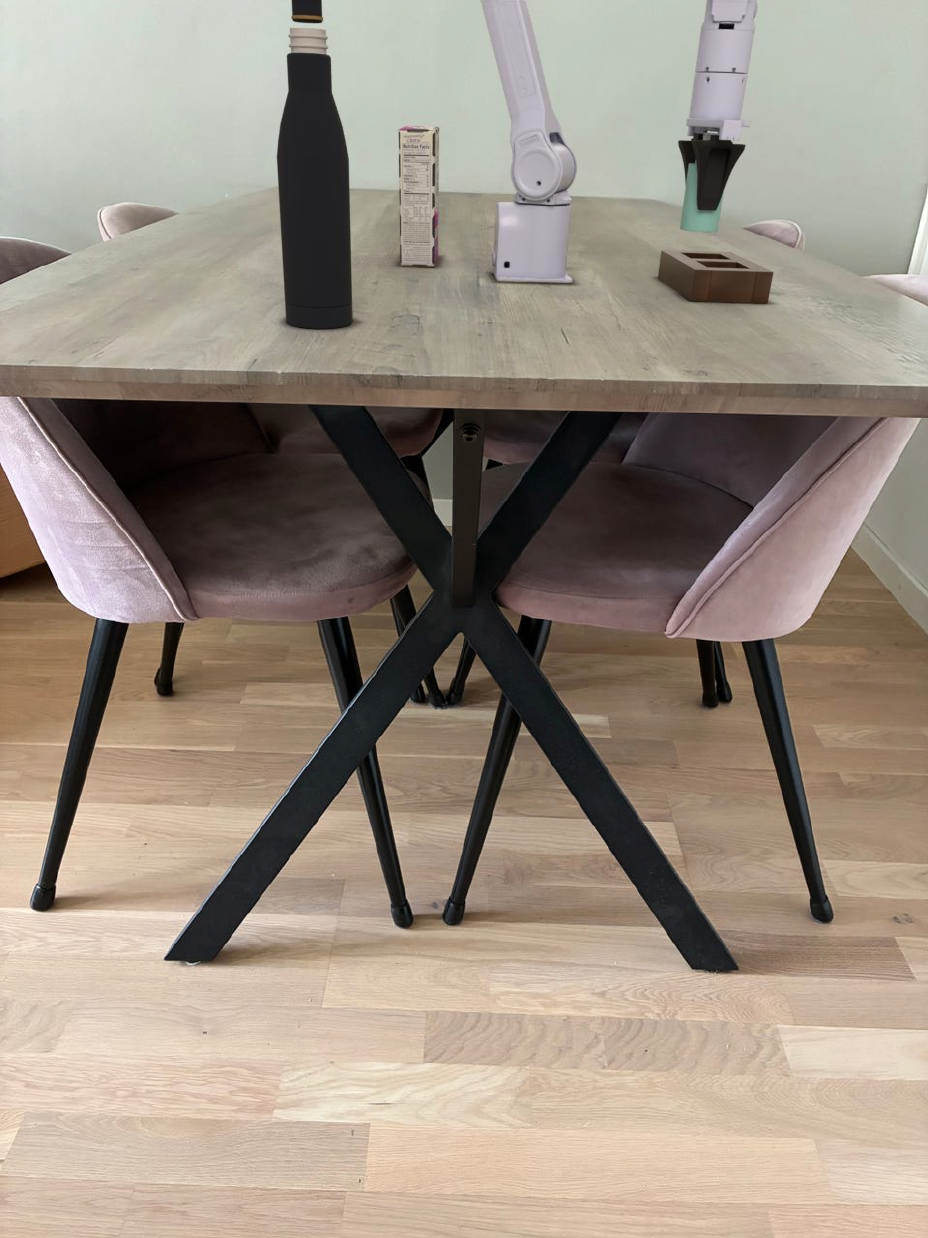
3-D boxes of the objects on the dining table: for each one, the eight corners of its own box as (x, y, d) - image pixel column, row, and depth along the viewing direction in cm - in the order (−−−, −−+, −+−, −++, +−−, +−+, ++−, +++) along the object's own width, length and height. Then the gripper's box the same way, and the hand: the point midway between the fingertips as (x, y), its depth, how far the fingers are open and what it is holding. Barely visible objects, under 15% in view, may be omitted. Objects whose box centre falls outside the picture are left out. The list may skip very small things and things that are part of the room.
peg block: (690, 301, 107) (695, 269, 105) (657, 277, 121) (661, 249, 120) (767, 303, 108) (773, 271, 106) (726, 279, 122) (730, 251, 120)
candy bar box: (403, 254, 132) (404, 124, 124) (438, 256, 132) (441, 126, 124) (397, 266, 122) (397, 126, 114) (435, 267, 122) (437, 127, 114)
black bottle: (340, 331, 87) (329, -63, 72) (276, 325, 88) (251, -63, 73) (360, 318, 92) (353, -50, 77) (299, 313, 93) (281, -51, 78)
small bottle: (685, 231, 107) (698, 134, 103) (676, 227, 111) (688, 133, 106) (722, 232, 108) (737, 136, 103) (711, 228, 111) (726, 134, 107)
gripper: (778, 73, 96) (754, 215, 102) (737, 76, 108) (717, 203, 115) (711, 70, 95) (691, 213, 102) (677, 74, 108) (661, 201, 114)
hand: (701, 207), depth 108 cm, fingers closed on small bottle, 4 cm apart
